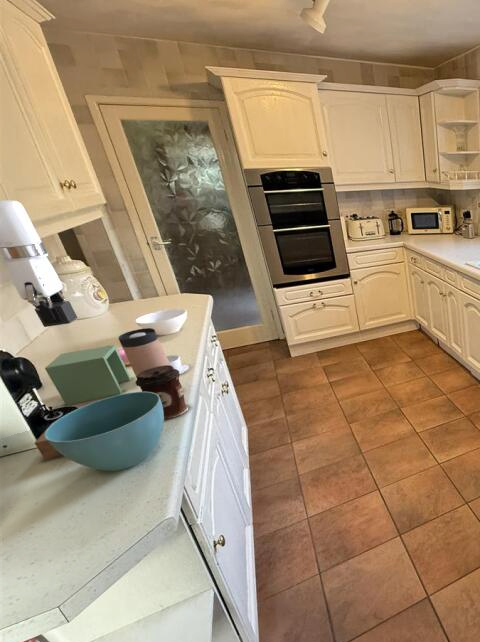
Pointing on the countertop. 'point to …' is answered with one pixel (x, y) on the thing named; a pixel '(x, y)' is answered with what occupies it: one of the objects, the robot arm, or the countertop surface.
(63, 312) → the black block
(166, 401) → the coffee cup
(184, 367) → the teacup
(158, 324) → the bowl
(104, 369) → the high shelf
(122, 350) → the doughnut
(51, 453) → the low shelf
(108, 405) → the blue dish
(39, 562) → the countertop surface
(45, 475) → the countertop surface
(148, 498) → the countertop surface
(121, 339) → the travel mug
